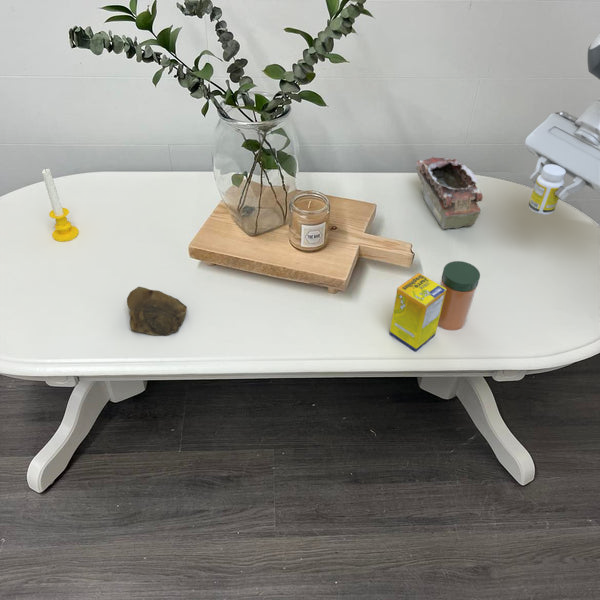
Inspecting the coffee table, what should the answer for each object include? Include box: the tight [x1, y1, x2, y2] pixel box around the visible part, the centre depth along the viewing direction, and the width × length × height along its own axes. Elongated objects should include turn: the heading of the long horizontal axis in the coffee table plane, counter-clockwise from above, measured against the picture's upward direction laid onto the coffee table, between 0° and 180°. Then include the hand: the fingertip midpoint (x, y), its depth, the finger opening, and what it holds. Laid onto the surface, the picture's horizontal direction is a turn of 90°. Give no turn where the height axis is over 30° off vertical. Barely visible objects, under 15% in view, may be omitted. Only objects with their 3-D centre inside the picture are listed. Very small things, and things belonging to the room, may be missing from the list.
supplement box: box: [389, 272, 446, 352], centre depth 97 cm, size 6×6×11 cm
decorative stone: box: [126, 286, 188, 337], centre depth 101 cm, size 10×9×4 cm
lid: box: [441, 260, 481, 291], centre depth 97 cm, size 6×6×2 cm
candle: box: [41, 168, 80, 243], centre depth 114 cm, size 5×5×16 cm
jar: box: [437, 277, 478, 331], centre depth 100 cm, size 6×6×10 cm
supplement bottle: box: [528, 164, 566, 216], centre depth 107 cm, size 5×5×8 cm
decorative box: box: [415, 156, 484, 230], centre depth 127 cm, size 13×20×10 cm, turn 5°
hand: (545, 189), depth 107 cm, fingers closed on supplement bottle, 5 cm apart
